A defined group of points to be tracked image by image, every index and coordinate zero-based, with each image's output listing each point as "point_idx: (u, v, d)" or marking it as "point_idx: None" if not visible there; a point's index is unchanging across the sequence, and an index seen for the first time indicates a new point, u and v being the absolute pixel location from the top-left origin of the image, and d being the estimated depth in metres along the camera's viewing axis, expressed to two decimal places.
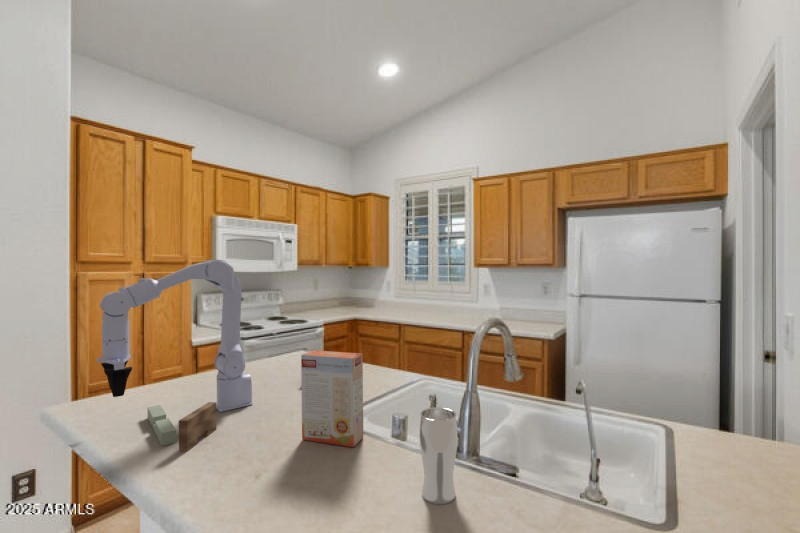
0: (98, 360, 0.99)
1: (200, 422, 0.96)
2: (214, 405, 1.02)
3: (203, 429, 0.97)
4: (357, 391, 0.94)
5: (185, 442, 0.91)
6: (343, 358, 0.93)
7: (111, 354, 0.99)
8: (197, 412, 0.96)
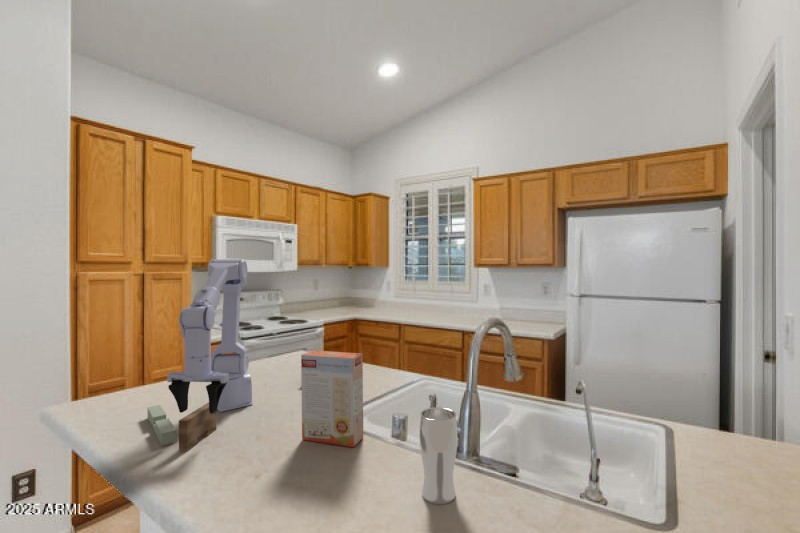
0: (192, 379, 0.93)
1: (200, 422, 0.96)
2: None
3: (203, 429, 0.97)
4: (357, 391, 0.94)
5: (185, 442, 0.91)
6: (343, 358, 0.93)
7: (205, 371, 0.95)
8: (197, 412, 0.96)
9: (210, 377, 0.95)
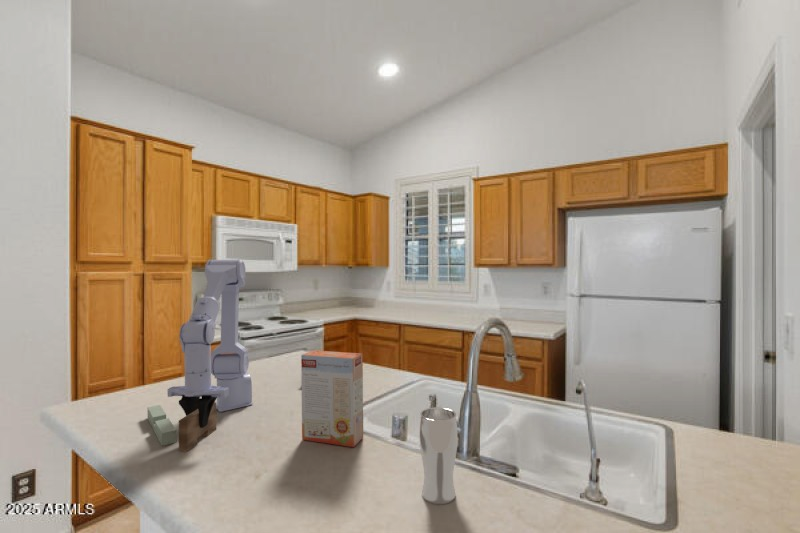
0: (192, 394, 0.93)
1: None
2: (214, 405, 1.02)
3: (203, 429, 0.97)
4: (357, 391, 0.94)
5: (185, 442, 0.91)
6: (343, 358, 0.93)
7: (205, 386, 0.95)
8: (197, 412, 0.96)
9: (210, 392, 0.95)
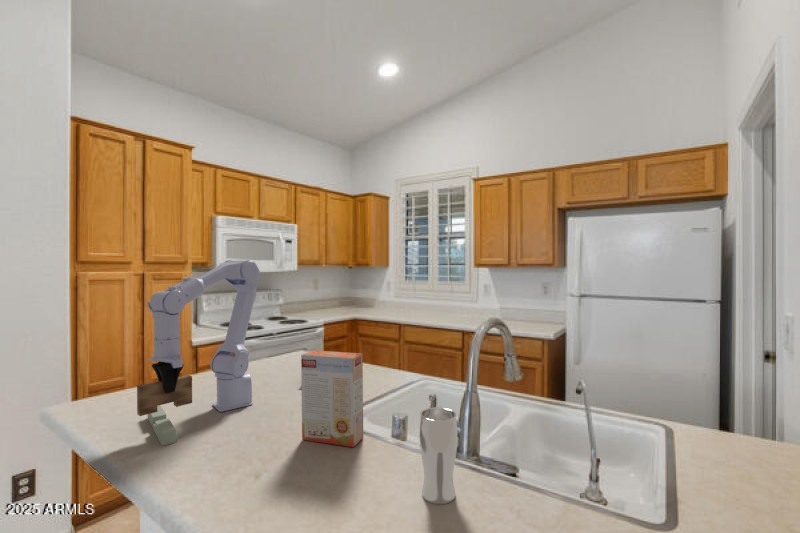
0: (152, 359, 0.98)
1: (163, 392, 1.00)
2: (189, 379, 1.05)
3: (168, 399, 1.01)
4: (357, 391, 0.94)
5: (139, 407, 0.96)
6: (343, 358, 0.93)
7: (165, 353, 0.99)
8: (161, 382, 1.00)
9: (165, 360, 0.97)
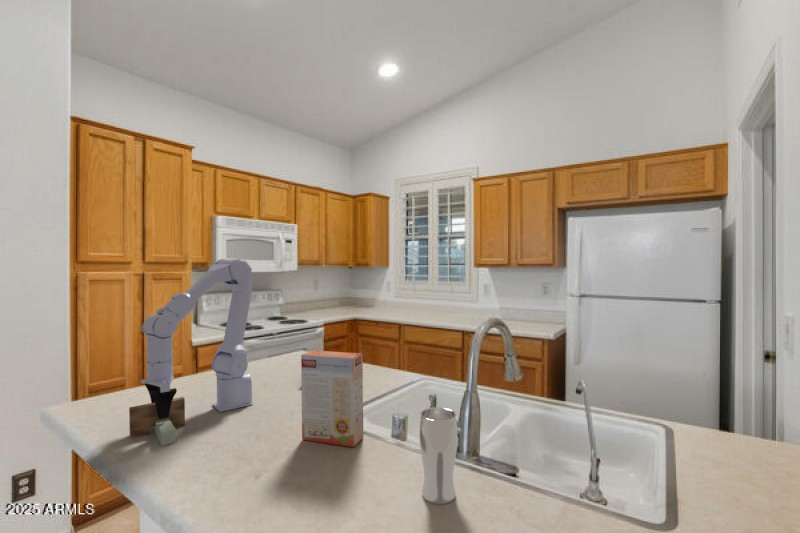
0: (143, 382, 1.00)
1: (154, 414, 1.01)
2: (181, 401, 1.05)
3: None
4: (357, 391, 0.94)
5: (130, 429, 0.98)
6: (343, 358, 0.93)
7: (156, 376, 1.00)
8: (153, 404, 1.02)
9: (155, 384, 0.99)
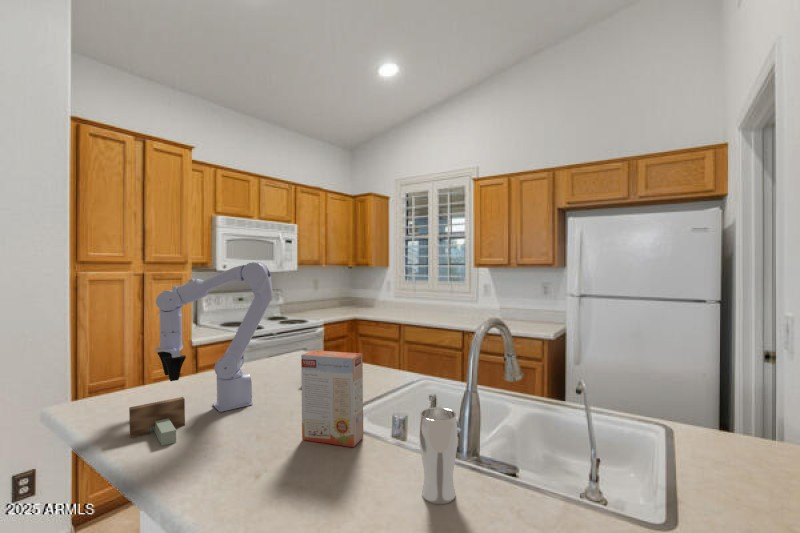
0: (157, 349, 1.14)
1: (154, 414, 1.01)
2: (181, 401, 1.05)
3: None
4: (357, 391, 0.94)
5: (130, 429, 0.98)
6: (343, 358, 0.93)
7: (168, 344, 1.14)
8: (153, 404, 1.02)
9: (167, 350, 1.12)
